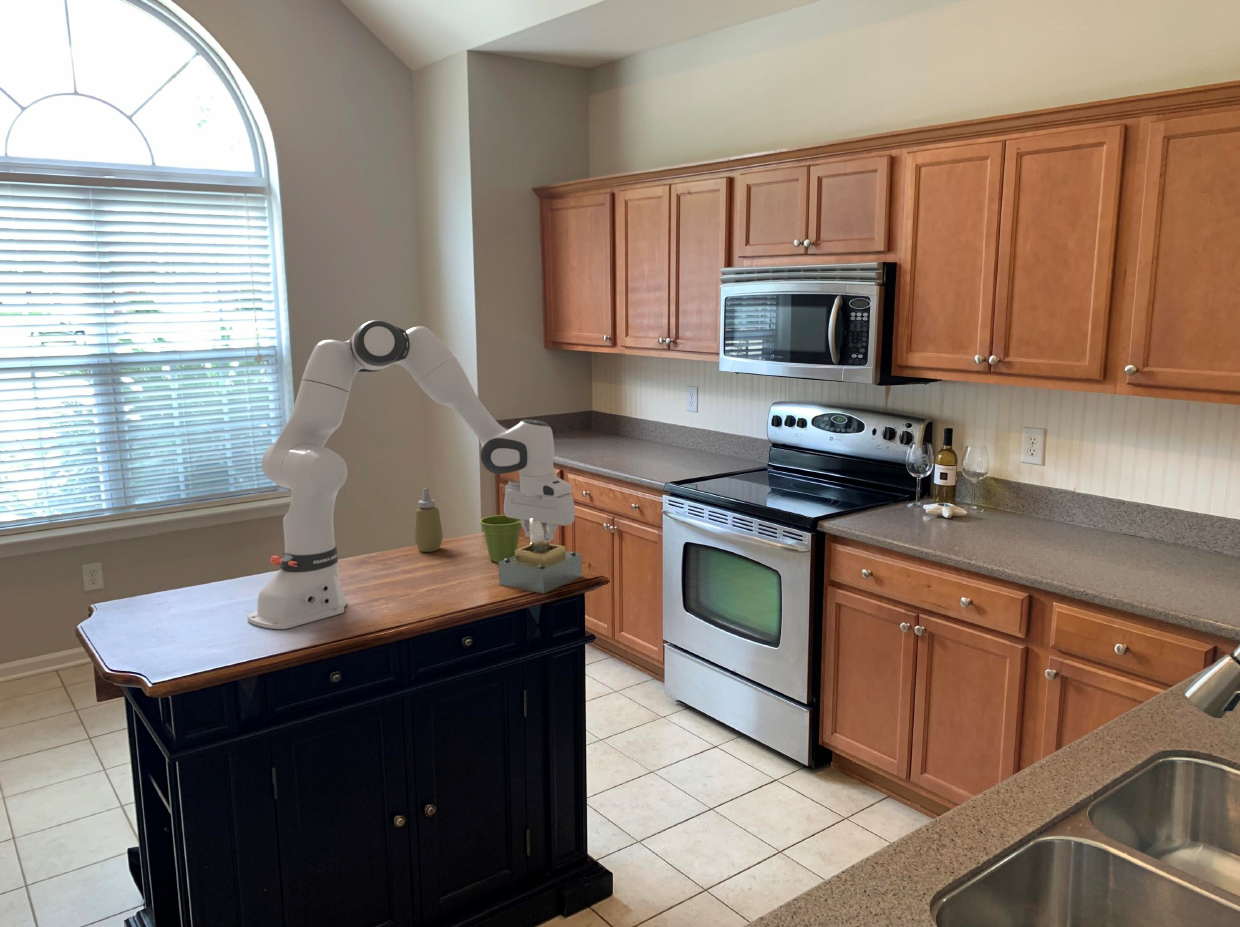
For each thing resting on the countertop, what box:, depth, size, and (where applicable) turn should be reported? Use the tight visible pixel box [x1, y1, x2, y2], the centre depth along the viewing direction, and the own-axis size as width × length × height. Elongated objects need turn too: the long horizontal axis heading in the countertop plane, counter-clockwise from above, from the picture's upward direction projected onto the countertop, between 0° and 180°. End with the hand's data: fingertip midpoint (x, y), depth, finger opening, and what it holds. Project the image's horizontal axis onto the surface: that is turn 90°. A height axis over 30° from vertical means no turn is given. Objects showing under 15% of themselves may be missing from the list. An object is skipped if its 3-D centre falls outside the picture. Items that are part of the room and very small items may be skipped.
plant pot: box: [479, 514, 522, 564], centre depth 260 cm, size 12×12×11 cm
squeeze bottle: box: [413, 487, 444, 553], centre depth 270 cm, size 8×8×18 cm
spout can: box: [529, 518, 551, 553], centre depth 239 cm, size 5×5×11 cm
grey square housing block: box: [498, 543, 583, 594], centre depth 241 cm, size 16×14×8 cm
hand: (539, 538), depth 239 cm, fingers closed on spout can, 5 cm apart
